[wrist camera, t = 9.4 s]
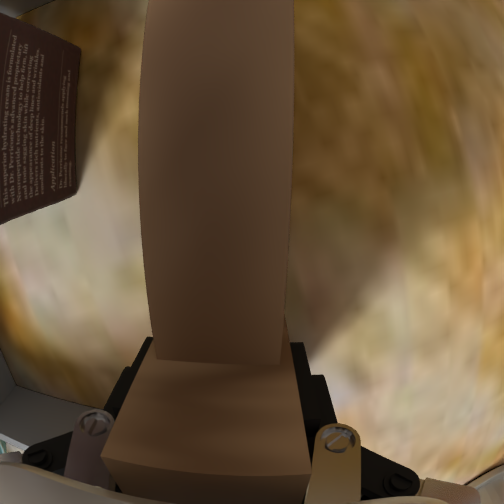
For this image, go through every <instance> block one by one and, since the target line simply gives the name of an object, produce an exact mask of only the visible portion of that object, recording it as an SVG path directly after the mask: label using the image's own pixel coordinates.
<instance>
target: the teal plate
mask: <svg viewBox="0 0 504 504" xmlns="http://www.w3.org/2000/svg"><path fill="white" fill-rule="evenodd" d="M2 453H6V443H5V441H3V440H1V439H0V454H2Z"/></svg>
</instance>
